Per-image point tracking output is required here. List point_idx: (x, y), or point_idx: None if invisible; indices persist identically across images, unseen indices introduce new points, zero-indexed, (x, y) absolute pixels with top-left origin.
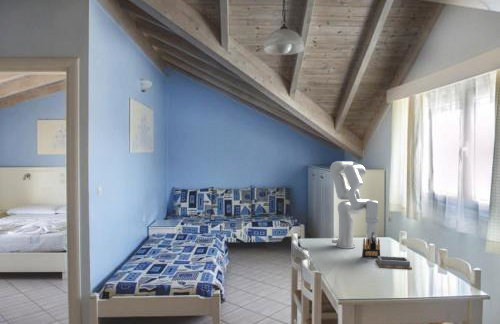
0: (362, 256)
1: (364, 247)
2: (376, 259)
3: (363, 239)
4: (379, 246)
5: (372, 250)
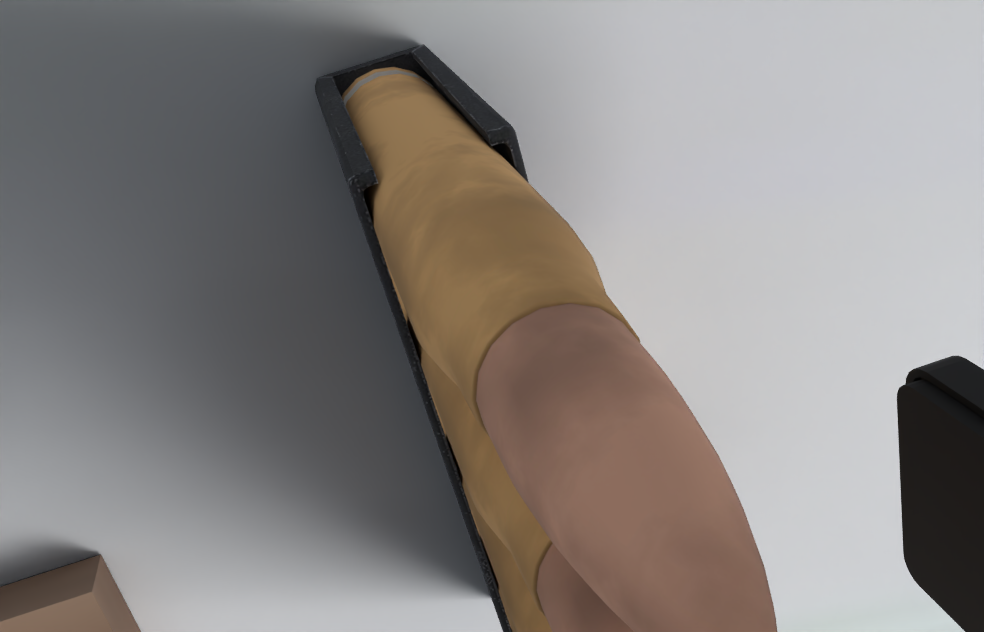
0: (356, 70)
1: (395, 281)
2: (15, 625)
3: (680, 467)
4: None
5: (478, 559)
